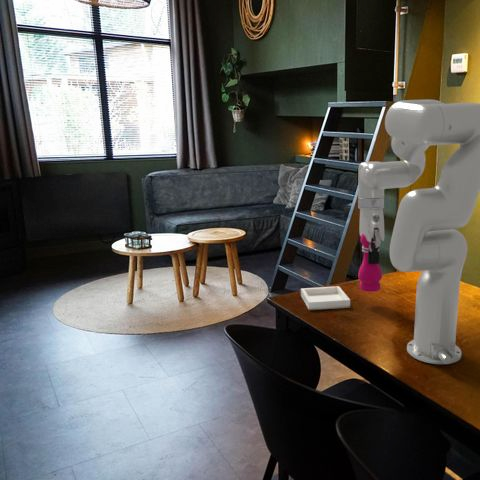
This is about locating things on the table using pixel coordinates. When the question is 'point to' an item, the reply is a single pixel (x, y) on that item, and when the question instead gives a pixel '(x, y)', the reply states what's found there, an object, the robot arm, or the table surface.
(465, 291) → the table surface
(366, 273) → the pepper mill
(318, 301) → the ceramic dish
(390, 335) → the table surface
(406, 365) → the table surface
